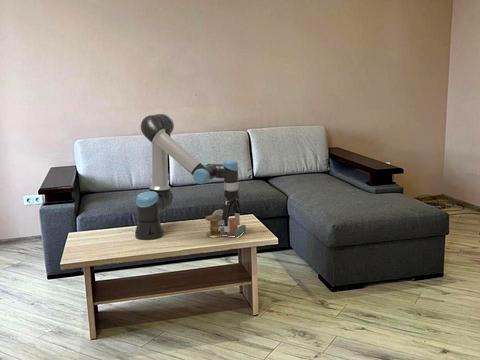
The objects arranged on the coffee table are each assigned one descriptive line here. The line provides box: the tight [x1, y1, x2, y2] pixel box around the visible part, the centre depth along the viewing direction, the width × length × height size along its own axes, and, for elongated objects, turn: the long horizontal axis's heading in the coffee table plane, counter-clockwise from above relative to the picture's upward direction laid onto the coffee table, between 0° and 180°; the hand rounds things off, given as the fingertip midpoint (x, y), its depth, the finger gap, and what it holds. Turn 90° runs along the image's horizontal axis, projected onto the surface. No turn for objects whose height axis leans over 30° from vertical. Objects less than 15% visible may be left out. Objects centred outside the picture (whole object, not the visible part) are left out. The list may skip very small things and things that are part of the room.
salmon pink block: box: [228, 217, 239, 235], centre depth 269 cm, size 4×4×8 cm
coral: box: [211, 209, 224, 226], centre depth 290 cm, size 10×10×10 cm
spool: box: [205, 214, 222, 237], centre depth 270 cm, size 9×9×10 cm
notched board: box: [220, 224, 247, 237], centre depth 271 cm, size 10×11×4 cm
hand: (232, 228), depth 270 cm, fingers open, 13 cm apart
